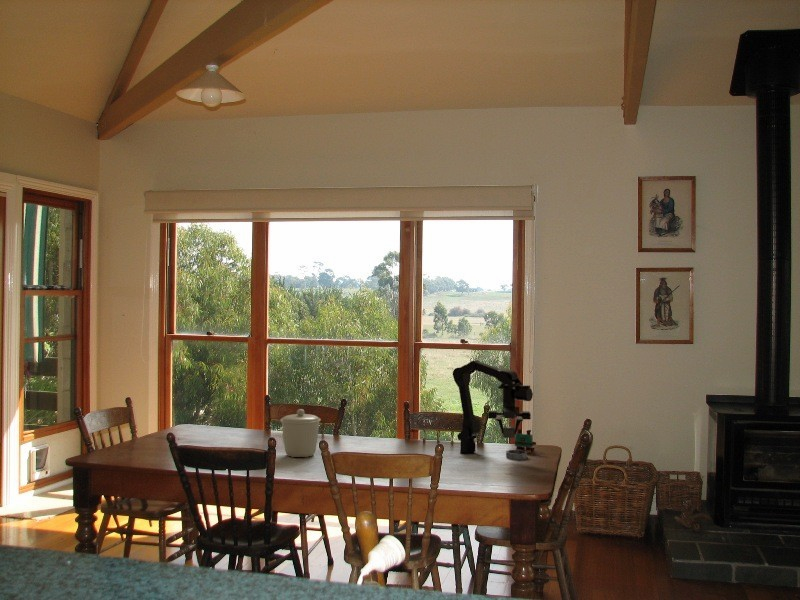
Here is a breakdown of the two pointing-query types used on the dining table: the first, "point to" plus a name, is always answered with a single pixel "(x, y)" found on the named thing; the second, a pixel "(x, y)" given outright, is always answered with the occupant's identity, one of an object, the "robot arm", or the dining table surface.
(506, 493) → the dining table surface
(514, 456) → the barrel ring
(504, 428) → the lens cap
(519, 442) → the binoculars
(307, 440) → the canister
